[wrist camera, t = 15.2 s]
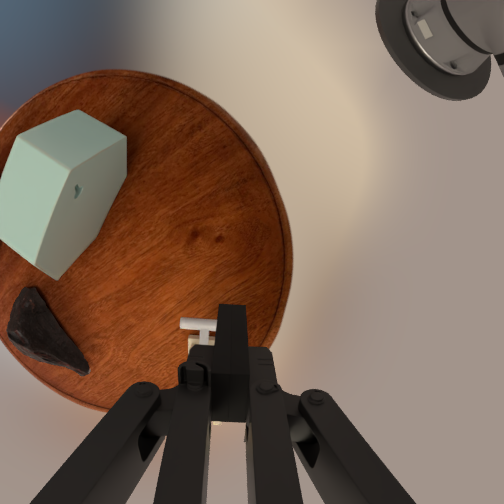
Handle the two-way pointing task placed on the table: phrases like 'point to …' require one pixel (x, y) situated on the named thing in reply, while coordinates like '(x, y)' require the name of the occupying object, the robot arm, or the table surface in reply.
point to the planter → (60, 189)
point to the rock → (42, 334)
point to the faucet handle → (199, 327)
